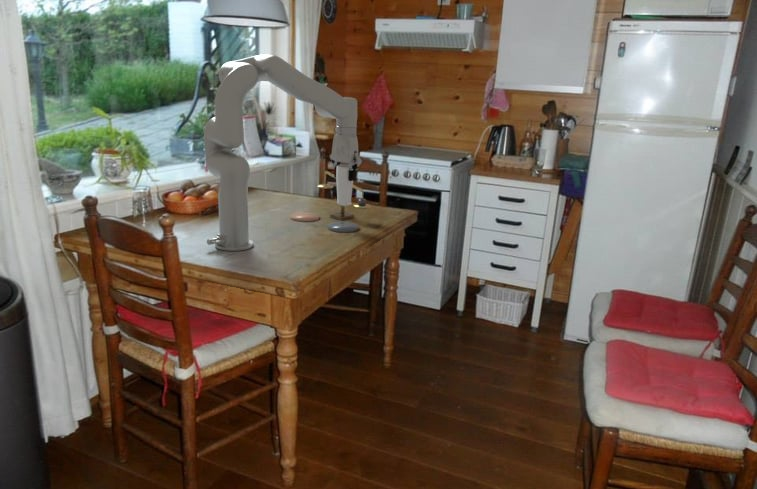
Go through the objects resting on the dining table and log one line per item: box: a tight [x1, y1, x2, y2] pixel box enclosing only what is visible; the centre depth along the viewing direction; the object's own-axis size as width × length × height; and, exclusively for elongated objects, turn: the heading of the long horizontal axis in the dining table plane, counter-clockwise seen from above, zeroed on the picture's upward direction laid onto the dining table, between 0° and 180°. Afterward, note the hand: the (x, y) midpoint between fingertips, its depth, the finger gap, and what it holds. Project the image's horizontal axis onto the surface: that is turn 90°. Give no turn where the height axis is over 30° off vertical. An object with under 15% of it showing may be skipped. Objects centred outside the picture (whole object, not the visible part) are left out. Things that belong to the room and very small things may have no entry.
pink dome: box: [289, 211, 320, 223], centre depth 229 cm, size 12×12×1 cm
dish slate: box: [327, 221, 359, 233], centre depth 217 cm, size 12×12×1 cm
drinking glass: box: [335, 164, 354, 207], centre depth 212 cm, size 7×7×15 cm
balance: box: [316, 170, 371, 221], centre depth 231 cm, size 8×29×18 cm, turn 50°
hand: (344, 178), depth 211 cm, fingers closed on drinking glass, 6 cm apart
